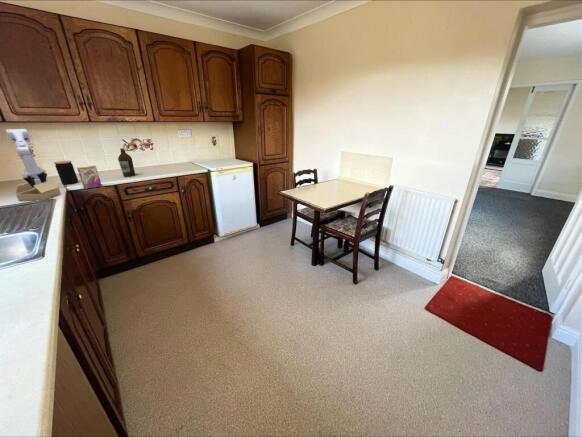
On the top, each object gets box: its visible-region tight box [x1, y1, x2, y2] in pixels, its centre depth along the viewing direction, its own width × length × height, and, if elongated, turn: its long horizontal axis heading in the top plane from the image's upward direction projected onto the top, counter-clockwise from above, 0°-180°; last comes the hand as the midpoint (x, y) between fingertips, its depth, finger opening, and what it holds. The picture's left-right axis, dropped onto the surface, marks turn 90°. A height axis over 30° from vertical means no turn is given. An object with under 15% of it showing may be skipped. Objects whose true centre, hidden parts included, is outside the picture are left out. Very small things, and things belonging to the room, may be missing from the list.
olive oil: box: [117, 147, 136, 178], centre depth 222 cm, size 11×11×25 cm
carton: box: [15, 187, 62, 202], centre depth 167 cm, size 14×16×4 cm
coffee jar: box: [53, 160, 79, 186], centre depth 200 cm, size 11×11×18 cm
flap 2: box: [34, 180, 59, 193], centre depth 165 cm, size 13×6×1 cm
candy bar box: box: [76, 164, 103, 190], centre depth 188 cm, size 11×5×16 cm, turn 141°
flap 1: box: [15, 181, 36, 195], centre depth 165 cm, size 13×6×1 cm
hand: (39, 185), depth 165 cm, fingers open, 7 cm apart
